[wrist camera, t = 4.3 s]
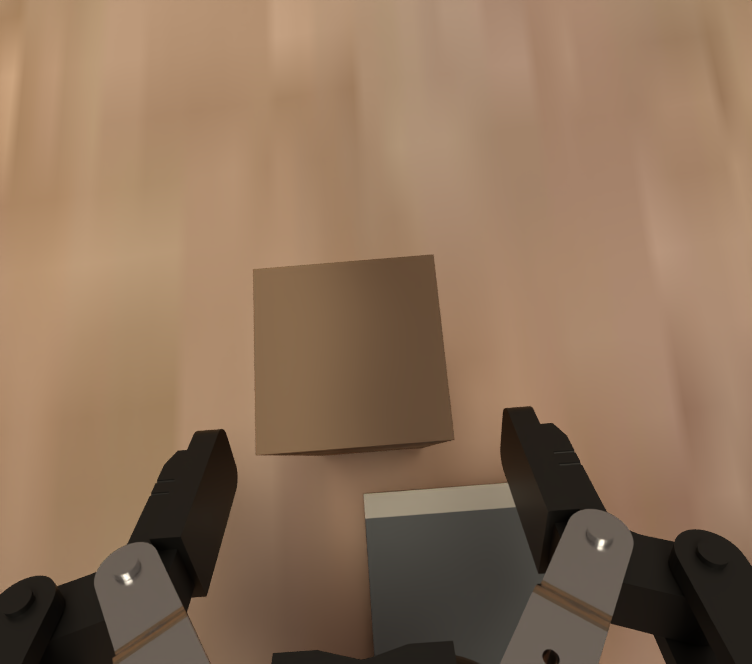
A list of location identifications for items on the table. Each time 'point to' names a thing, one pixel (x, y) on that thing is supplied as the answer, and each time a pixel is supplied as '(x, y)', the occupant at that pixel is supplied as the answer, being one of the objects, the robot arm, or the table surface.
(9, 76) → the table surface
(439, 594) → the mat
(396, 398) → the block
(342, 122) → the table surface
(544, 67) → the table surface
